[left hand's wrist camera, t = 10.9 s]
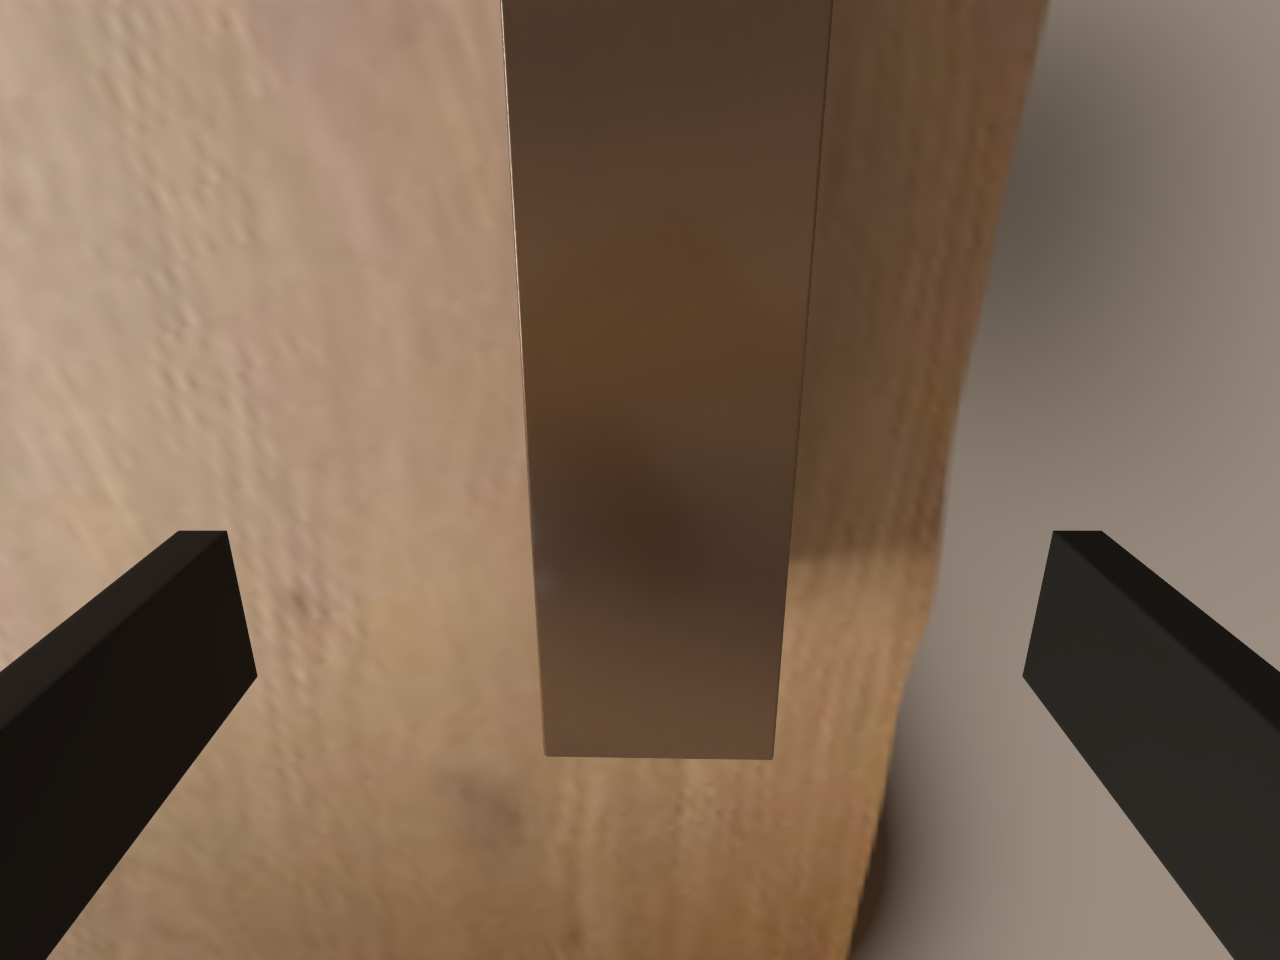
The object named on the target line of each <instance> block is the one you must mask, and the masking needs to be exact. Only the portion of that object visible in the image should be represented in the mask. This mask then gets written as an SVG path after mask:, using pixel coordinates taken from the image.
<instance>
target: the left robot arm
mask: <svg viewBox="0 0 1280 960" xmlns="http://www.w3.org/2000/svg"><path fill="white" fill-rule="evenodd" d="M256 678H257V672H256V667H255V662H254V658H253V653H252V648H251V643H250V639H249V634H248V629H247V624H246V620H245V615H244V610H243V605H242V601H241V596H240V591H239V586H238V582H237V577H236V572H235V567H234V563H233V558H232V553H231V549H230V544H229V539H228V534H227V531H178V532H176V533H175V534H174V535H173V536H171V537H170V538H169V539H167V540H166V541H165V542H164V543H162V544H161V545H160V546H159V547H157V548H156V549H155V550H154V551H152V552H151V553H150V554H149V555H147V556H146V557H145V558H144V559H142V560H141V561H140V562H138V563H137V564H136V565H135V566H133V567H132V568H131V569H130V570H128V571H127V572H126V573H125V574H123V575H122V576H121V577H120V578H118V579H117V580H116V581H115V582H113V583H112V584H111V585H109V586H108V587H107V588H106V589H104V590H103V591H102V592H101V593H99V594H98V595H97V596H96V597H94V598H93V599H92V600H91V601H89V602H88V603H87V604H86V605H84V606H83V607H82V608H80V609H79V610H78V611H77V612H75V613H74V614H73V615H72V616H70V617H69V618H68V619H67V620H65V621H64V622H63V623H62V624H60V625H59V626H58V627H56V628H55V629H54V630H53V631H51V632H50V633H49V634H48V635H46V636H45V637H44V638H43V639H41V640H40V641H39V642H38V643H36V644H35V645H34V646H33V647H31V648H30V649H29V650H27V651H26V652H25V653H24V654H22V655H21V656H20V657H19V658H17V659H16V660H15V661H14V662H12V663H11V664H10V665H9V666H7V667H6V668H5V669H4V670H2V671H1V672H0V960H46V959H47V957H48V956H49V955H50V953H51V952H52V951H53V949H54V948H55V946H56V945H57V944H58V942H59V941H60V940H61V938H62V937H63V936H64V934H65V933H66V932H67V930H68V929H69V928H70V926H71V925H72V924H73V922H74V921H75V920H76V918H77V917H78V916H79V914H80V913H81V912H82V910H83V909H84V908H85V906H86V905H87V904H88V902H89V901H90V900H91V898H92V897H93V896H94V894H95V893H96V892H97V890H98V889H99V888H100V886H101V885H102V884H103V882H104V881H105V880H106V878H107V877H108V876H109V874H110V873H111V872H112V870H113V869H114V868H115V866H116V865H117V864H118V862H119V861H120V860H121V858H122V857H123V856H124V854H125V853H126V852H127V850H128V849H129V848H130V846H131V845H132V844H133V842H134V841H135V840H136V838H137V837H138V836H139V834H140V833H141V831H142V830H143V829H144V827H145V826H146V825H147V823H148V822H149V821H150V819H151V818H152V817H153V815H154V814H155V813H156V811H157V810H158V809H159V807H160V806H161V805H162V803H163V802H164V801H165V799H166V798H167V797H168V795H169V794H170V793H171V791H172V790H173V789H174V787H175V786H176V785H177V783H178V782H179V781H180V779H181V778H182V777H183V775H184V774H185V773H186V771H187V770H188V769H189V767H190V766H191V765H192V763H193V762H194V761H195V759H196V758H197V757H198V755H199V754H200V753H201V751H202V750H203V749H204V747H205V746H206V745H207V743H208V742H209V741H210V739H211V738H212V737H213V735H214V734H215V733H216V731H217V730H218V729H219V727H220V726H221V725H222V723H223V722H224V721H225V719H226V718H227V716H228V715H229V714H230V712H231V711H232V710H233V708H234V707H235V706H236V704H237V703H238V702H239V700H240V699H241V698H242V696H243V695H244V694H245V692H246V691H247V690H248V688H249V687H250V686H251V684H252V683H253V682H254V680H255V679H256ZM1023 678H1024V679H1025V680H1026V682H1027V683H1028V684H1029V686H1030V687H1031V688H1032V690H1033V691H1034V692H1035V694H1036V695H1037V696H1038V698H1039V699H1040V700H1041V702H1042V703H1043V704H1044V706H1045V707H1046V708H1047V710H1048V711H1049V712H1050V714H1051V715H1052V716H1053V718H1054V719H1055V721H1056V722H1057V723H1058V725H1059V726H1060V727H1061V728H1062V730H1063V731H1064V732H1065V734H1066V735H1067V737H1068V738H1069V739H1070V741H1071V742H1072V743H1073V745H1074V746H1075V747H1076V749H1077V750H1078V751H1079V753H1080V754H1081V755H1082V757H1083V758H1084V759H1085V761H1086V762H1087V763H1088V765H1089V766H1090V767H1091V769H1092V770H1093V771H1094V773H1095V774H1096V775H1097V777H1098V778H1099V779H1100V781H1101V782H1102V783H1103V785H1104V786H1105V787H1106V789H1107V790H1108V791H1109V793H1110V794H1111V795H1112V797H1113V798H1114V799H1115V801H1116V802H1117V803H1118V805H1119V806H1120V807H1121V809H1122V810H1123V811H1124V813H1125V814H1126V815H1127V817H1128V818H1129V819H1130V821H1131V822H1132V823H1133V825H1134V826H1135V827H1136V829H1137V830H1138V831H1139V833H1140V834H1141V835H1142V837H1143V838H1144V840H1145V841H1146V842H1147V844H1148V845H1149V846H1150V848H1151V849H1152V850H1153V852H1154V853H1155V854H1156V856H1157V857H1158V858H1159V860H1160V861H1161V862H1162V864H1163V865H1164V866H1165V868H1166V869H1167V870H1168V872H1169V873H1170V874H1171V876H1172V877H1173V878H1174V880H1175V881H1176V882H1177V884H1178V885H1179V886H1180V888H1181V889H1182V890H1183V892H1184V893H1185V894H1186V896H1187V897H1188V898H1189V900H1190V901H1191V902H1192V904H1193V905H1194V906H1195V908H1196V909H1197V910H1198V912H1199V913H1200V914H1201V916H1202V917H1203V918H1204V920H1205V921H1206V922H1207V924H1208V925H1209V926H1210V928H1211V929H1212V930H1213V932H1214V933H1215V934H1216V936H1217V937H1218V938H1219V940H1220V941H1221V942H1222V944H1223V945H1224V946H1225V948H1226V949H1227V950H1228V952H1229V953H1230V955H1231V956H1232V957H1233V958H1234V960H1280V672H1279V671H1278V670H1276V669H1275V668H1274V667H1273V666H1271V665H1270V664H1269V663H1268V662H1266V661H1265V660H1264V659H1263V658H1261V657H1260V656H1259V655H1258V654H1256V653H1255V652H1254V651H1253V650H1251V649H1250V648H1249V647H1247V646H1246V645H1245V644H1244V643H1242V642H1241V641H1240V640H1239V639H1237V638H1236V637H1235V636H1234V635H1232V634H1231V633H1230V632H1229V631H1227V630H1226V629H1225V628H1224V627H1222V626H1221V625H1220V624H1218V623H1217V622H1216V621H1215V620H1213V619H1212V618H1211V617H1210V616H1208V615H1207V614H1206V613H1205V612H1203V611H1202V610H1201V609H1200V608H1198V607H1197V606H1196V605H1194V604H1193V603H1192V602H1191V601H1189V600H1188V599H1187V598H1186V597H1184V596H1183V595H1182V594H1181V593H1179V592H1178V591H1177V590H1176V589H1174V588H1173V587H1172V586H1171V585H1169V584H1168V583H1167V582H1165V581H1164V580H1163V579H1162V578H1160V577H1159V576H1158V575H1157V574H1155V573H1154V572H1153V571H1152V570H1150V569H1149V568H1148V567H1146V566H1145V565H1144V564H1143V563H1142V562H1140V561H1139V560H1138V559H1136V558H1135V557H1134V556H1133V555H1131V554H1130V553H1129V552H1128V551H1126V550H1125V549H1124V548H1123V547H1121V546H1120V545H1119V544H1118V543H1116V542H1115V541H1114V540H1112V539H1111V538H1110V537H1109V536H1107V535H1106V534H1105V533H1104V532H1102V531H1053V534H1052V539H1051V544H1050V549H1049V553H1048V558H1047V563H1046V568H1045V572H1044V577H1043V582H1042V586H1041V591H1040V596H1039V601H1038V605H1037V610H1036V615H1035V620H1034V624H1033V629H1032V634H1031V639H1030V643H1029V648H1028V653H1027V658H1026V663H1025V667H1024V672H1023Z"/></svg>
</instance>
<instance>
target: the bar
mask: <svg viewBox="0 0 1280 960" xmlns="http://www.w3.org/2000/svg"><path fill="white" fill-rule="evenodd" d="M500 7H501V24H502V42H503V59H504V76H505V93H506V110H507V128H508V145H509V162H510V179H511V196H512V214H513V231H514V248H515V265H516V283H517V300H518V317H519V334H520V351H521V369H522V386H523V403H524V420H525V437H526V455H527V472H528V489H529V506H530V523H531V541H532V558H533V575H534V592H535V609H536V627H537V644H538V661H539V678H540V695H541V713H542V730H543V747H544V755H545V756H553V757H619V758H684V759H750V760H772V759H773V754H774V741H775V728H776V716H777V703H778V691H779V678H780V665H781V653H782V640H783V628H784V615H785V602H786V590H787V577H788V564H789V552H790V539H791V527H792V514H793V501H794V489H795V476H796V464H797V451H798V438H799V426H800V413H801V401H802V388H803V375H804V363H805V350H806V337H807V325H808V312H809V300H810V287H811V274H812V262H813V249H814V237H815V224H816V211H817V199H818V186H819V174H820V161H821V148H822V136H823V123H824V110H825V98H826V85H827V73H828V60H829V47H830V35H831V22H832V10H833V0H500Z"/></svg>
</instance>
